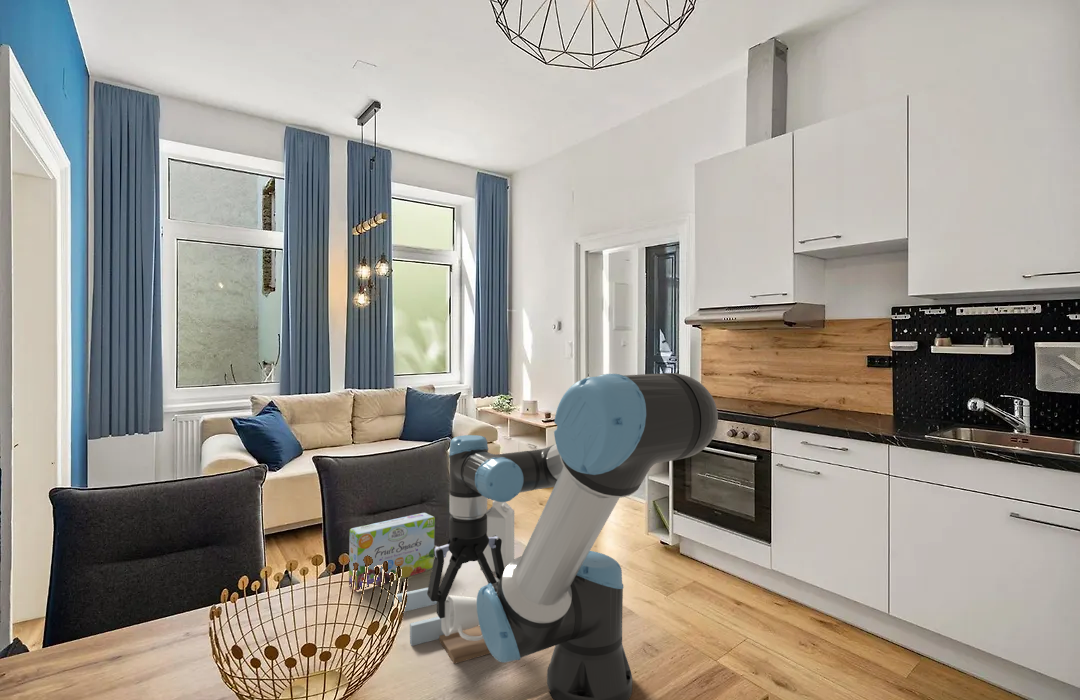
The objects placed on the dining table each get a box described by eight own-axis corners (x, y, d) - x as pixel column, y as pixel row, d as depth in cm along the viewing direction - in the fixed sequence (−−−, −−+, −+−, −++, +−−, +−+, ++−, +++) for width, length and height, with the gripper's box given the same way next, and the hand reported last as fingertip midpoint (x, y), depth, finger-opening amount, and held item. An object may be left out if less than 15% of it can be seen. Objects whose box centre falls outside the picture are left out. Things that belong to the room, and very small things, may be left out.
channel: (459, 633, 112) (459, 614, 112) (411, 645, 108) (411, 626, 108) (436, 602, 126) (436, 585, 126) (393, 612, 121) (393, 594, 121)
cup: (485, 584, 112) (448, 587, 108) (501, 622, 104) (462, 626, 100) (477, 611, 114) (440, 615, 110) (492, 650, 105) (453, 656, 102)
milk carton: (480, 572, 143) (480, 501, 143) (490, 562, 150) (490, 494, 150) (505, 575, 141) (505, 503, 141) (514, 565, 148) (514, 496, 148)
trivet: (497, 651, 106) (497, 646, 106) (454, 663, 102) (454, 658, 102) (480, 629, 114) (480, 625, 114) (439, 640, 110) (439, 635, 110)
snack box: (357, 596, 129) (357, 533, 129) (348, 588, 133) (348, 527, 133) (435, 572, 143) (435, 515, 143) (424, 565, 148) (424, 510, 147)
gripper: (509, 501, 116) (508, 606, 116) (410, 516, 106) (409, 631, 106) (524, 511, 109) (524, 622, 110) (420, 528, 99) (420, 650, 99)
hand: (467, 626), depth 108 cm, fingers closed on cup, 9 cm apart
